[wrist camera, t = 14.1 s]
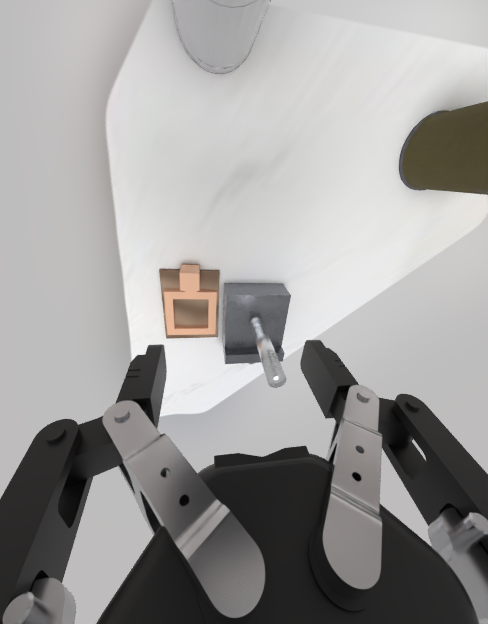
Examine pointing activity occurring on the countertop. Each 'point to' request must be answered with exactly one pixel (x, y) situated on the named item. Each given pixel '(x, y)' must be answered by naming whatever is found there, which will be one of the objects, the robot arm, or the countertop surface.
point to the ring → (190, 291)
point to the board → (190, 300)
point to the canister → (448, 152)
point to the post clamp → (255, 326)
